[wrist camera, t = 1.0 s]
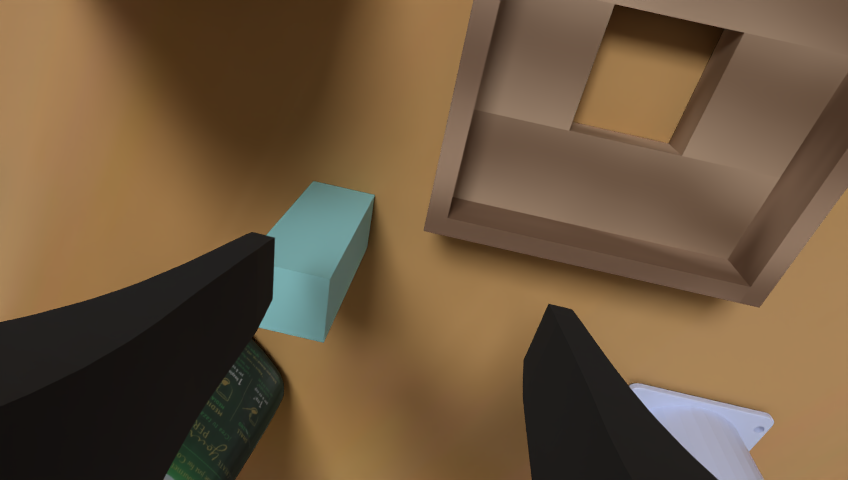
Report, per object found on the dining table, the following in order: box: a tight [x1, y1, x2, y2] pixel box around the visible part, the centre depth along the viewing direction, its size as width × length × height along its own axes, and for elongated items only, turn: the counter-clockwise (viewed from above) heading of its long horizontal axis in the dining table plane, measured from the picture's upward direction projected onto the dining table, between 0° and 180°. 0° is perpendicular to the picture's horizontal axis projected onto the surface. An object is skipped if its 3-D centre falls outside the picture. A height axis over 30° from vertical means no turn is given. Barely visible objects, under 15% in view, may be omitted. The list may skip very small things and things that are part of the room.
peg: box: [259, 181, 375, 343], centre depth 19 cm, size 3×3×7 cm
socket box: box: [424, 0, 848, 307], centre depth 16 cm, size 14×14×4 cm
